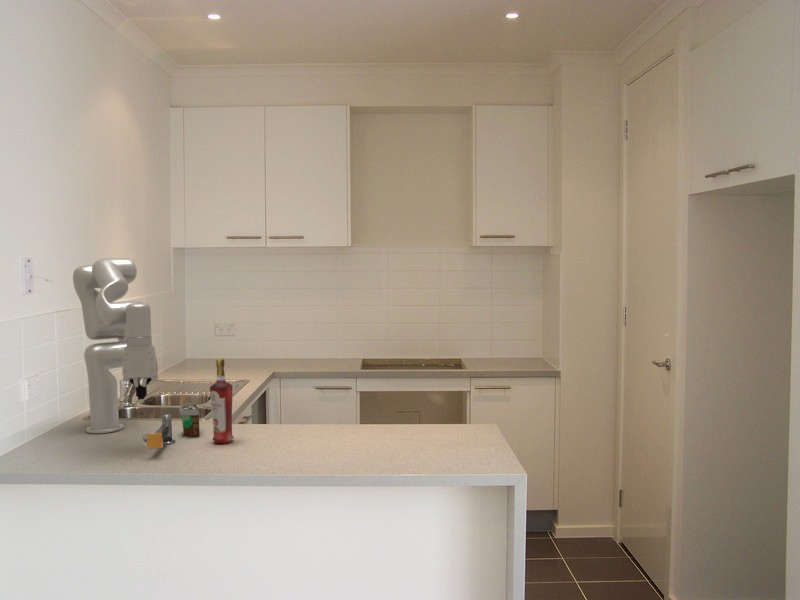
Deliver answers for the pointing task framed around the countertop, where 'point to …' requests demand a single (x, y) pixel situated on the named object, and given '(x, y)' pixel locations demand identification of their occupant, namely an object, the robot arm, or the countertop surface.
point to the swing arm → (157, 437)
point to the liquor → (221, 406)
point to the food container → (190, 420)
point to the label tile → (145, 437)
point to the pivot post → (167, 421)
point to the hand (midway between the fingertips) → (141, 398)
